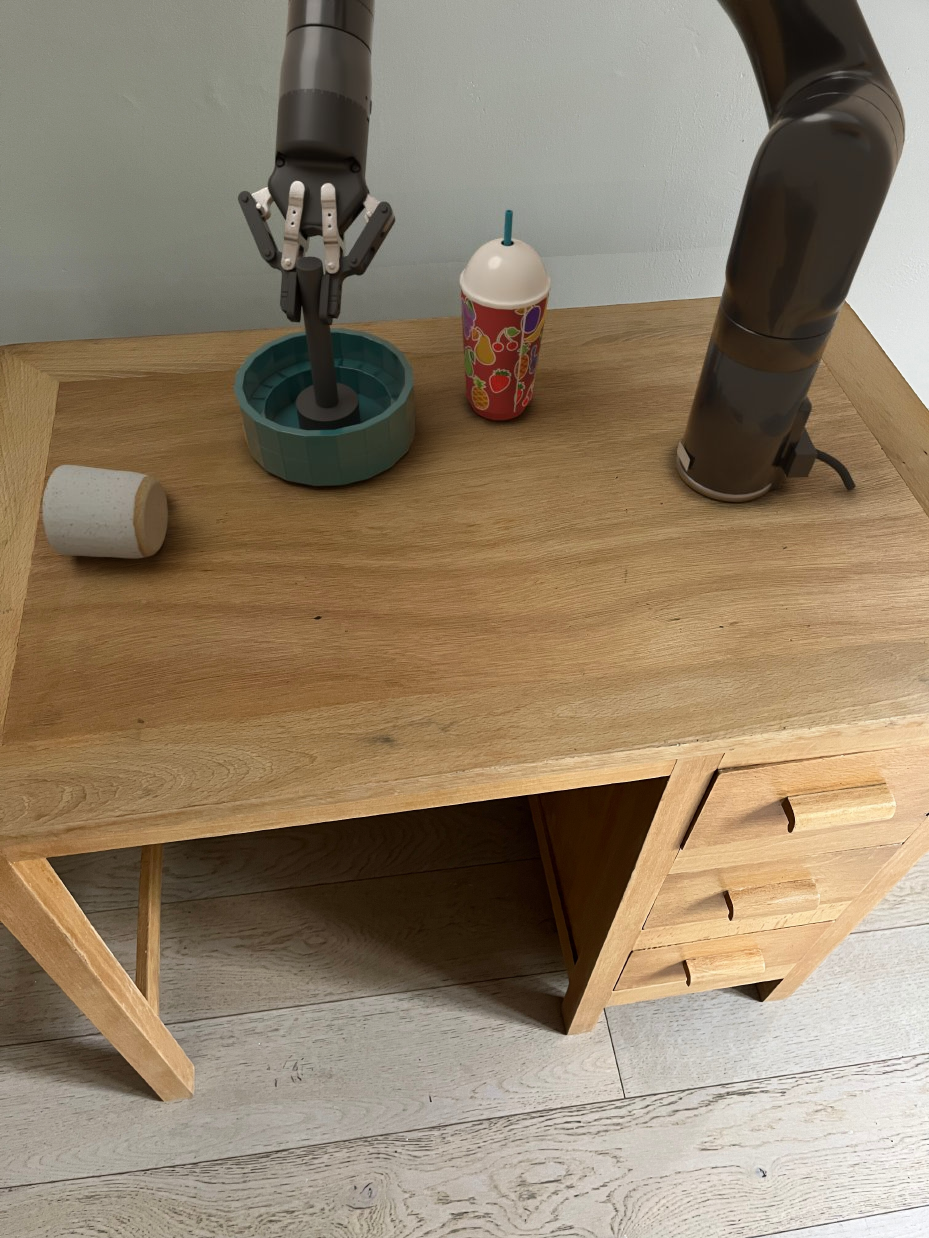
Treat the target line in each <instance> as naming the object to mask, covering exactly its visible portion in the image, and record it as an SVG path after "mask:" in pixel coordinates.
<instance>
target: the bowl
mask: <svg viewBox="0 0 929 1238" xmlns="http://www.w3.org/2000/svg"><path fill="white" fill-rule="evenodd" d="M330 331H331V339H332V348H333V356H334V365H335V373H336V382H337V383H340V384H344V385H346V386H348V387H350V388H352V389H353V390H354V391H355V392H356V394H357V396H358V399H359V410H360V420H361V424H357V425H352V426H348V427H344V428H339V429H335V430H303V429H300V427H299V421H298V415H297V409H296V399H297V397H298V395H299V394H300V393H301V392H302V391H303V390H304V389H306V388H307V387H309V386H312V385H313V380H312V373H311V366H310V359H309V352H308V345H307V338H306V331H305V330H301V331H296V332H291V333H287V334H284V335H283V336H279V337H278V338H275V339H272V340H270V341H268V342H266V343H264V344H263V345H261V346H260V347H258V348H257V349H256V350H255V351H254V352H252V353H251V354H248V356H247V357H246V358H245V360H244V361H243V363H242V364H241V365H240V366H239V368H238V370H236V373H235V379H234V384H233V393H234V397H235V402H236V405H237V411H238V415H239V418H240V423H241V427H242V432H243V436H244V440H245V443H246V446H247V449H248V451H249V455H250V456H251V457H252V458H253V459H254V460H255V461H256V462H257V463H258V464H259V465H260V466H261V468H263V469H264V470H265V471H266V472H268V473H270V474H272V475H274V476H276V477H278V478H281V479H282V480H285V481H287V482H292V483H297V484H303V485H306V486H307V485H308V486H311V487H312V486H314V487H328V486H329V487H330V486H344V485H348V484H352V483H356V482H360V481H365V480H369V479H371V478H373V477H375V476H377V475H379V474H381V473H383V472H384V471H387V470H388V469H391V468H392V467H393V466H394V465H395V464H396V463H397V462H398V461H399V460H400V459H401V458H402V457H404V455H405V454H406V453H407V452H409V449H410V447H411V445H412V442H413V441H414V438H415V436H416V415H415V413H416V412H415V386H414V383H415V382H414V368H413V366H412V365H411V363H410V361H409V359H408V358H407V356H406V354H405V353H404V352H403V351H402V350H401V349H399V348H398V347H397V346H396V345H394V344H393V343H391V342H390V341H389V340H387V339H384V338H382V337H379V336H377V335H375V334H372V333H369V332H367V331H363V330H357V329H351V328H345V327H330Z"/></svg>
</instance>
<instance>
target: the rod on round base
mask: <svg viewBox="0 0 929 1238" xmlns="http://www.w3.org/2000/svg"><path fill="white" fill-rule="evenodd" d="M323 263H324V262H323V260H322V259H320V258H319V257H316V256H305V257H303V258H301V259H299V260H298V261H297V262H296V269H297V276H298V283H299V290H300V297H301V303H302V309H301V311H302V317H303V323H304V324H303V325H304V331H306V338H307V345H308V352H309V359H310V366H311V373H312V380H313V385H312V386H309V387H307V388H306V389H304V390H303V391H302V392H301V393H300V394H299V395H298V397H297V399H296V409H297V415H298V421H299V427H300V429H303V430H335V429H339V428H344V427H348V426H352V425H357V424H361V420H360V410H359V399H358V396H357V394H356V392H355V391H354V390H353V389H352V388H350V387H348V386H346V385H344V384H340V383H337V382H336V373H335V365H334V356H333V348H332V339H331V331H330V328H331V325H323V324H322V323H321V322H320V320H319V307H320V293H321V279H322V274H324V275H325V271H324V265H323Z"/></svg>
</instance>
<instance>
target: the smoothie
mask: <svg viewBox="0 0 929 1238" xmlns="http://www.w3.org/2000/svg"><path fill="white" fill-rule="evenodd" d="M513 219H514V211H513V210H512V209H506V210H505V212H504V229H503V237H498V238H494V239H492V240H491V239H490V240H489V241H487V242H485V243H484V244H482V245H481V246H479V248H478V249H476V250H475V252H474V253H473V254H472V256H471V257H470V259H469V260H468V262H467V264H466V266H465V267H464V269H463V270H462V271H461V273H460V274H459V281H458V283H459V288H460V305H461V307H460V308H461V326H462V345H463V346H462V347H463V362H464V363H463V364H464V365H463V366H464V381H465V397H466V399H467V401H468V402H469V403H470V406H471V407H472V409H473V411H474V412H475V413H476V414H477V415H479V416H481V417H483V418H484V419H487V420H492V421H506V420H507V421H508V420H512V419H514V418H517V417H519V416H520V415H521V414H523V412H524V411H525V409H526V407H527V406H528V405H529V404H530V403H531V400H532V398H533V395H534V394H533V393H534V388H535V382H536V377H537V376H536V375H537V371H538V364H539V358H540V352H541V346H542V339H543V334H544V327H545V322H546V316H547V311H548V310H547V309H548V304H549V298H550V291H551V289H552V278H551V276H550V274H549V273H548V271H547V269H546V267H545V264H544V262H543V261H542V258H541V257H540V255H539V253H537V251H536V249H534V248H533V247H532V246H530V245H529V244H528V243H527V242H525V241H522V240H520V239H519V238H514V237H512V235H513Z"/></svg>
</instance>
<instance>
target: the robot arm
mask: <svg viewBox="0 0 929 1238" xmlns="http://www.w3.org/2000/svg"><path fill="white" fill-rule="evenodd" d="M716 2H717V3H718V4H719V6H720V7H721V9H722V10H723V11H724V13H725V14H726V16H727V17H728V18H729V20H730V22H731V24H732V26H734V28H735V30H736V31H737V34H738V36H739V38H740V40H741V42H742V44H743V47H744V49H745V52H746V55H747V57H748V60H749V62H750V65H751V68H752V73H753V74H754V78H755V81H756V84H757V88H758V91H759V94H760V98H761V102H762V106H763V108H764V112H765V117H766V121H767V126H768V132H767V133H766V135H765V137H764V138H763V140H762V142H761V143H760V145H759V147H758V149H757V151H756V154H755V156H754V159H753V161H752V165H751V166H750V171H749V174H748V177H747V181H746V184H745V189H744V192H743V195H742V199H741V200H742V201H741V204H740V207H739V212H738V215H737V219H736V223H735V228H734V232H733V235H732V238H731V239H732V240H731V243H730V247H729V252H728V255H727V259H726V263H725V271H724V277H725V280H724V286H723V289H722V293H721V298H720V301H719V304H718V307H717V311H716V315H715V318H714V322H713V326H712V329H711V334H710V337H709V341H708V344H707V348H706V352H705V356H704V360H703V362H702V366H701V370H700V373H699V378H698V381H697V385H696V389H695V392H694V396H693V398H692V403H691V406H690V410H689V413H688V418H687V421H686V425H685V429H684V432H683V436H682V438H681V440H680V441H679V443H678V446H677V450H676V454H677V455H676V458H675V468H676V470H677V474H678V475H679V477H680V478H681V480H682V481H683V482H684V483H685V484H686V485H687V486H689V487H690V488H691V489H692V490H694V491H695V492H697V493H699V494H701V495H703V496H705V497H707V498H709V499H710V498H711V499H714V500H718V501H722V502H730V503H731V502H732V503H741V502H748V501H752V500H755V499H758V498H760V497H762V496H764V495H765V494H767V492H769V490H779V489H781V487H782V484H783V482H784V479H785V477H786V478H787V479H798V478H799V479H801V478H808V477H809V476H810V474H811V472H812V469H813V467H814V464H815V462H816V460H818V461H820V462H822V463H824V464H826V465H828V466H829V467H830V468H832V469H833V470H834V471H835V472H836V473H837V475H838V476H839V478H840V479H841V482H842V484H843V486H844V487H845V489H846V491H847V492H851V491H852V490H855V488H856V486H857V485H856V483H855V481H854V480H853V479H854V478H853V477H852V475H851V473H850V472H849V470H848V468H847V467H846V466H845V465H844V464H843V463H842V462H841V461H840V460H839V459H838V458H836V457H835V456H833V455H831V454H829V453H827V452H825V451H822V450H820V449H818V448H816V447H815V445H814V443H813V441H812V439H811V437H810V435H809V433H808V430H807V428H806V426H807V423H808V420H809V417H810V416H811V413H812V410H813V404H812V402H811V399H810V398H809V396H808V394H809V391H810V389H811V386H812V384H813V381H814V379H815V377H816V374H817V371H818V368H819V366H820V364H821V361H822V359H823V356H824V353H825V351H826V349H827V345H828V343H829V341H830V338H831V335H832V333H833V330H834V328H835V326H836V323H837V320H838V318H839V316H840V313H841V312H842V311H841V310H842V308H843V306H844V304H845V301H846V300H847V298H848V295H849V292H850V289H851V287H852V285H853V282H854V279H855V276H856V274H857V272H858V269H859V267H860V264H861V261H862V260H863V257H864V254H865V251H866V249H867V246H868V244H869V242H870V240H871V237H872V235H873V232H874V230H875V227H876V225H877V222H878V219H879V217H880V214H881V212H882V210H883V206H884V204H885V202H886V199H887V196H888V194H889V190H890V188H891V185H892V182H893V179H894V177H895V175H896V174H895V173H896V171H897V169H898V166H899V163H900V161H901V158H902V155H903V150H904V145H905V141H906V118H905V114H904V109H903V105H902V102H901V99H900V96H899V94H898V92H897V89H896V87H895V85H894V82H893V80H892V78H891V75H890V74H889V71H888V68H887V67H886V65H885V63H884V60H883V58H882V55H881V54H880V51H879V49H878V46H877V45H876V42H875V40H874V38H873V35H872V32H871V29H870V28H869V26H868V23H867V20H866V19H865V16H864V14H863V11H862V9H861V7H860V5H859V1H858V0H716ZM375 13H376V0H287V15H286V27H285V28H286V30H285V43H284V50H283V56H282V58H281V59H282V61H281V65H280V72H279V73H280V75H279V91H278V104H277V120H276V121H277V122H276V136H275V151H274V167H273V171H272V172H271V174H270V176H269V177H268V180H267V186H265V187H263V188H261V189H259V190H256V191H255V192H253V193H250V191H248V190H243V191H240V193H238V196H237V201H238V204H239V206H240V208H241V211H242V214H243V216H244V218H245V221H246V224H247V226H248V227H249V230H250V232H251V236H252V238H253V241H254V242H255V245H256V247H257V250H258V252H259V255H260V257H261V258H262V259H263V260H264V261H265V262H266V264H268V265H269V266H270V267H271V268H272V269H274V270H278V271H279V272H280V273H281V283H280V298H279V306H280V310H281V312H283V313H284V314H285V316H286V319H287V320H289V322H291V323H301V320H302V303H301V297H300V290H299V283H298V276H297V269H296V262H297V261H298V260H299V259H301V258H303V257H306V253H307V252H308V250H309V247H310V246H309V245H310V239H311V238H313V237H317V236H319V237H322V242H323V248H324V249H323V250H324V270H325V271H324V274H322V279H321V293H320V307H319V320H320V322H321V323H322V324H323V325H330V326H333V322H334V319H336V320H337V319H339V316H340V314H341V311H342V310H341V308H342V297H343V296H342V295H343V284H344V281H345V280H346V278H350V277H352V276H354V275H355V276H358V277H361V276H363V275H364V274H365V273H366V271H367V270H368V268H369V266H370V265H371V264H372V261H373V259H374V258H375V257H376V255H377V253H378V251H379V250H380V248H381V246H382V245H383V243H384V242H385V240H386V238H387V236H388V235H389V233H390V231H391V229H392V228H393V226H394V225H395V223H396V215H395V212H394V210H393V208H392V206H391V204H390V203H389V202H387V201H380V200H378V199H376V198H375V197H374V196H372V195H371V194H370V190H369V186H368V185H367V180H366V172H367V159H368V146H369V145H368V144H369V132H370V120H371V119H370V118H371V115H372V110H373V108H372V107H373V101H372V94H373V93H372V91H373V76H372V74H373V73H372V52H373V51H372V50H373V39H374V26H375V25H374V24H375ZM273 203H274V204H275V205H276V207H277V208H278V210H279V212H280V214H281V216H282V217H283V219H284V221H285V223H284V228H283V229H284V230H283V247H282V252H281V251H279V248H278V245H277V243H276V241H275V238H274V235H273V234H272V231H271V229H270V226H269V224H268V220H269V219H270V218H271V216H272V209H271V207H272V204H273ZM364 209H365V212H364V215H363V219H364V222H365V226H364V228H363V229H362V231H361V232H360V234H359V236H358V238H357V239H356V241H355V243H354V244H353V246H352V248H351V249H350V251H349V252H348V254H347V255H345V254H346V249H347V248H346V232H347V231H348V229H349V228H350V227H351V226H352V225H353V223H354V222H355V221H356V220H357V218H358V217H359V216H360V215H361V213H362V212H363V211H364Z"/></svg>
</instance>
